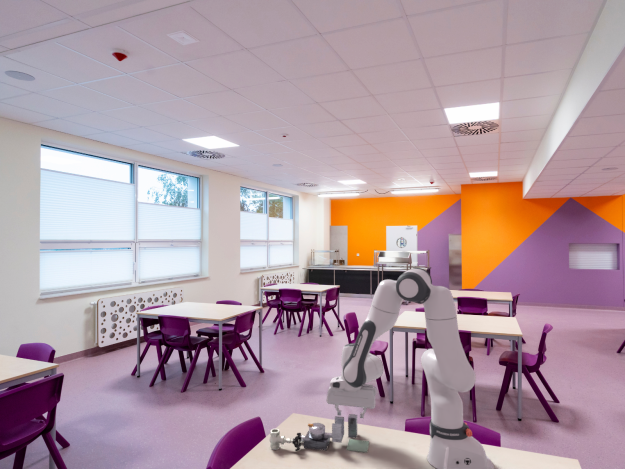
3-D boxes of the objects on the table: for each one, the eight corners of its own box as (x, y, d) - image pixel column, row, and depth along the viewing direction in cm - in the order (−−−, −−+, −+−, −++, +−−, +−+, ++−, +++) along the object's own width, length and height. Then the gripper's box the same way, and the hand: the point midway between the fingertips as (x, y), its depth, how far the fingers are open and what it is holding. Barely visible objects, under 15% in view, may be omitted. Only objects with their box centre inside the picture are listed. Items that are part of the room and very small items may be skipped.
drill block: (330, 440, 159) (330, 432, 159) (326, 450, 151) (326, 442, 151) (302, 437, 161) (302, 430, 161) (297, 447, 153) (297, 439, 153)
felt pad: (369, 442, 157) (369, 441, 157) (367, 452, 149) (367, 451, 149) (349, 440, 159) (349, 439, 159) (346, 450, 151) (346, 449, 151)
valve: (267, 451, 150) (297, 455, 148) (267, 434, 151) (297, 437, 148) (272, 443, 157) (301, 446, 154) (272, 426, 157) (301, 429, 154)
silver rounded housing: (344, 433, 157) (344, 417, 157) (341, 443, 150) (341, 425, 150) (310, 430, 160) (310, 413, 160) (306, 439, 153) (305, 422, 153)
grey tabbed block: (357, 432, 165) (357, 413, 165) (356, 439, 159) (355, 419, 159) (349, 431, 166) (349, 412, 166) (347, 438, 160) (347, 419, 160)
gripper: (377, 382, 164) (376, 416, 163) (328, 377, 168) (327, 410, 168) (376, 387, 158) (375, 422, 157) (326, 382, 162) (325, 416, 161)
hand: (350, 416), depth 162 cm, fingers open, 8 cm apart
